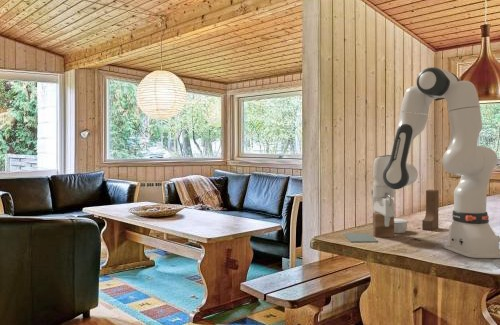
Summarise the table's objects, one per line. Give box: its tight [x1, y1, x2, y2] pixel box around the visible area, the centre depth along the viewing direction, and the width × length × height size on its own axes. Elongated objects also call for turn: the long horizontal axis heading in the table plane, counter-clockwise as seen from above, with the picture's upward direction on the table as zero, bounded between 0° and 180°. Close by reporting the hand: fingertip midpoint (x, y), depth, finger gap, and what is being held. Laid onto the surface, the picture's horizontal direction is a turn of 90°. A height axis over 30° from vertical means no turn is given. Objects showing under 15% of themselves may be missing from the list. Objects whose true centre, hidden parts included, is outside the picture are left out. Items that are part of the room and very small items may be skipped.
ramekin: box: [394, 217, 409, 234], centre depth 206 cm, size 11×11×5 cm
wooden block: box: [421, 189, 440, 231], centre depth 210 cm, size 9×4×18 cm, turn 139°
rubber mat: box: [343, 232, 379, 243], centre depth 192 cm, size 16×11×1 cm
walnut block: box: [372, 212, 395, 238], centre depth 196 cm, size 4×8×10 cm, turn 89°
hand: (383, 224), depth 196 cm, fingers open, 8 cm apart
